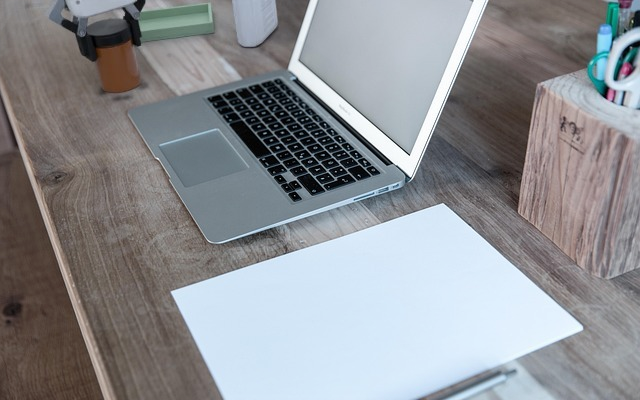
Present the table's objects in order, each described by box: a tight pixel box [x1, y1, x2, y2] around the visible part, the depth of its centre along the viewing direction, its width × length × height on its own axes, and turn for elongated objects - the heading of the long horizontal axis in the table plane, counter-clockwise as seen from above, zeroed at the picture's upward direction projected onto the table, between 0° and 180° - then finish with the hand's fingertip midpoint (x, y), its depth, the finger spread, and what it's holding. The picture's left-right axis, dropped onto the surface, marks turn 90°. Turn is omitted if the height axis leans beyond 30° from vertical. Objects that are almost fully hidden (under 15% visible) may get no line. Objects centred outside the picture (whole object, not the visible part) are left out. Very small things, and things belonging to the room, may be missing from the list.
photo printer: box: [231, 0, 279, 48], centre depth 116 cm, size 10×4×12 cm, turn 162°
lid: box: [86, 18, 132, 47], centre depth 103 cm, size 6×6×2 cm
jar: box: [94, 38, 142, 94], centre depth 105 cm, size 6×6×8 cm
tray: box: [138, 2, 215, 43], centre depth 125 cm, size 15×10×2 cm
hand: (113, 50), depth 105 cm, fingers closed on lid, 6 cm apart
